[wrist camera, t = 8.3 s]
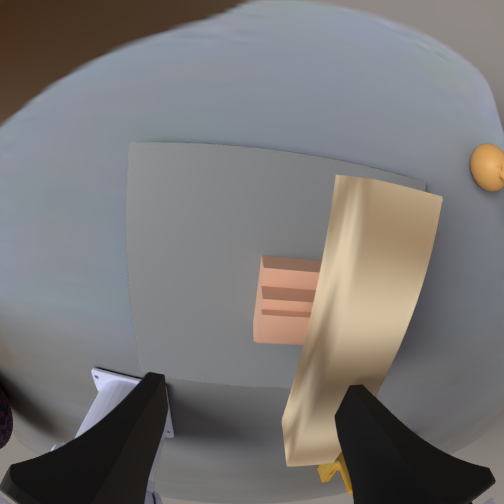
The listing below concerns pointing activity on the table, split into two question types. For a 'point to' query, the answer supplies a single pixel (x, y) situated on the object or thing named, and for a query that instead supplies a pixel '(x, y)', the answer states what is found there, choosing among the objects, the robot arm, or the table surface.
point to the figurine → (488, 167)
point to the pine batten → (358, 305)
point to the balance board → (227, 257)
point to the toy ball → (5, 419)
